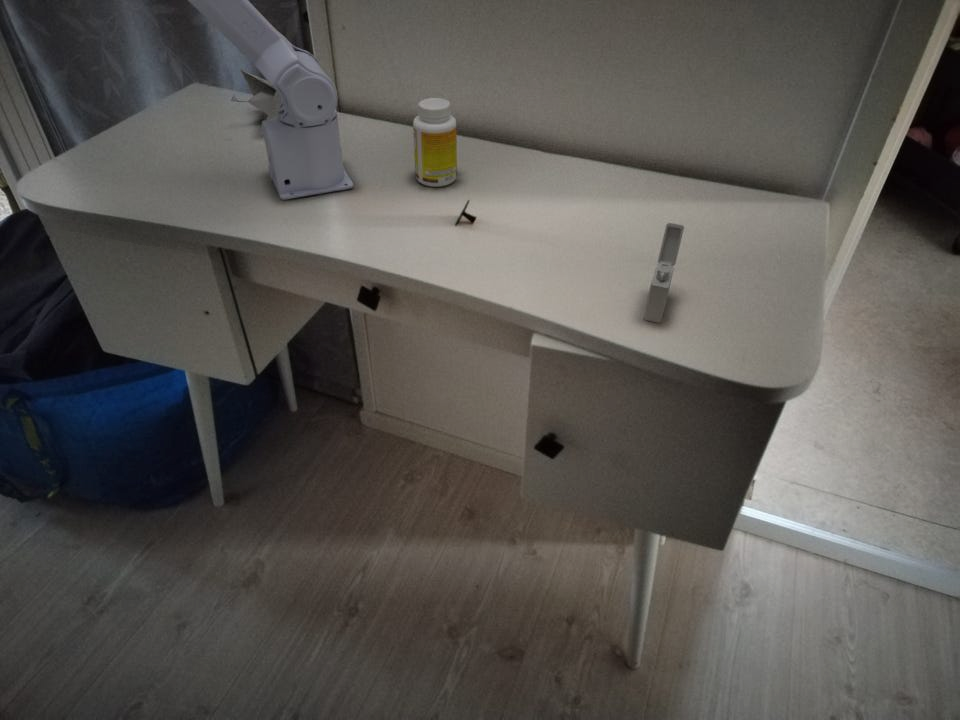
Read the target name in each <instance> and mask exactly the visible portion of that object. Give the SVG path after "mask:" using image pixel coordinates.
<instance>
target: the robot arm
mask: <svg viewBox="0 0 960 720" xmlns="http://www.w3.org/2000/svg"><path fill="white" fill-rule="evenodd" d="M187 1H188V2H189V4H191V5H192V6H193V7H194V8H195V10H197V11H198V12H199V13H200V14H201V15H202V16H204V18H205V19H206V20H207V21H208V22H209V23H210V24H211V25H212V26H213V27H214V28H216V29H217V30H218V31H219V32H220V34H221V35H223V36H224V37H225V38H226V39H227V40H228V41H229V42H230V43H231V44H232V45H233V46H234V47H236V49H237V50H238V51H239V52H240V53H241V54H242V55H243V56H244V57H246V59H248V60H249V61H250V62H251V63H252V64H253V66H254V67H255V68H256V69H257V70H258V71H259V73H260V74H261V75H262V77H264V79H265V80H267V81H268V82H269V83H270V84H271V86H272V87H273V88H274V89H275V90H277V92H278V93H279V94H280V95H281V97H282V99H283V100H282V101H281V104H280V106H279V109H278V111H277V112H278V116H276V117H274V118H272V119H269V120H265V121H264V120H262V121H261V127H262V130H263V135H264V136H263V140H264V146H265V151H266V155H267V160H268V166H267V167H268V172H269V176H270V179H271V180H272V182H273V185H274V186H275V189H276V192H277V194H278V196H279V198H280V200H290V199H296V198H302V197H309V196H313V195H314V196H315V195H321V194H325V193H331V192H332V193H333V192H337V191H343V190H348V189H352V188H354V183H353V181H352V179H351V177H350V176H349V174H348V172H347V171H346V168H345V167H344V161H343V154H342V145H341V135H340V127H339V117H338V111H337V106H338V99H339V96H338V90H337V88H336V85H335V83H334V81H332V79H331V78H329V76H328V75H326V73H325V72H324V70H323V69H322V66H321V64H320V62H319V60H318V59H317V58H316V57H315V56H314V55H313V54H312V53H311V52H309V51H308V50H306V49H303V48H299V47H297V46H296V45H293V44H292V43H291V41H289V39H288V38H286V37H285V36H284V35H283V34H282V33H281V32H280V31H279V30H278V29H276V28H275V27H274V26H273V25H272V24H271V23H270V22H269V20H267V19H266V17H265V16H264V15H263V14H262V13H261V12H260V11H259V10H258V9H257V8H256V7H255V5H253V3H251V2H250V1H249V0H187Z"/></svg>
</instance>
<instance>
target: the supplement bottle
mask: <svg viewBox="0 0 960 720" xmlns="http://www.w3.org/2000/svg"><path fill="white" fill-rule="evenodd" d="M451 112H452V111H451V103H450V102H449V101H448V99H445V98H440V97H428V98H424V99H422V100H420V101H419V102H418V115H417V116H415V117H414V119H413V122H412V131H413V132H412V133H413V151H414V152H413V154H414V169H415V171H414V172H415V178H416V180H417V181H418V182H419V183H420V184H422V185H424V186H427V187H432V188H433V187H437V188H439V187H445V186H449V185H451V184H452V183H453V182H454V181H456V179H457V176H458V147H457V145H458V143H457V141H458V140H457V135H458V134H457V133H458V132H457V129H458V127H457V120H456V117H454V116H453V115H452V114H451Z"/></svg>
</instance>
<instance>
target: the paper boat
mask: <svg viewBox="0 0 960 720" xmlns="http://www.w3.org/2000/svg"><path fill="white" fill-rule="evenodd" d="M240 72H241V74H242V76H243V78H244V80H245V82H246V83H247V86H248V88H249V90H250V92H251V93H252V95H253V96H252V97H251V98H250V99H249V100H247V101H246V100H238V98H237V97H236V95H235V93H233V95H232V97H231V100H230V102H237V103H248V104H249V105H251V106H253V107H254V108H256V109H258V110H260V111H261V113H262V115H263V117H264V120H263V121H265V120H269V119H272V118H274V117H276V116H278V112H277V111H278V109H279V106H280V104H281V101H282V100H283V99H282V97H281V95H280V94H279V93H278V92H277V90H275V89H274V88H273V87H272V86H271V84H270V83H269V82H268V81H267V80H266V78H262V77H261V76H257V75H255V74H252V73H250V72H247V71H245V70H242V69H240ZM261 137H264V135H263V129H262V131H261Z"/></svg>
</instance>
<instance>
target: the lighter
mask: <svg viewBox="0 0 960 720" xmlns="http://www.w3.org/2000/svg"><path fill="white" fill-rule="evenodd" d="M684 230H685V226H684V225H683V224H679V223H674V222H673V223H672V222H668V223H667V224H665V229H664V233H663V238H662V242H661V246H660V250H659V254H658V259H657V263H656V266H655V270H654V271H653V275H652V279H651V282H650V284H649V290H648V296H647V300H646V304H645V309H644V314H643V320H644V321H649V322H653V323H656V324H659V323H661V322H662V319H663V315H664V312H665V308H666V304H667V300H668V296H669V292H670V288H671V284H672V279H673V274H674V271H675V265H676V264H677V260H678V255H679V251H680V248H681V247H680V246H681V242H682V239H683V235H684Z"/></svg>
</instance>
